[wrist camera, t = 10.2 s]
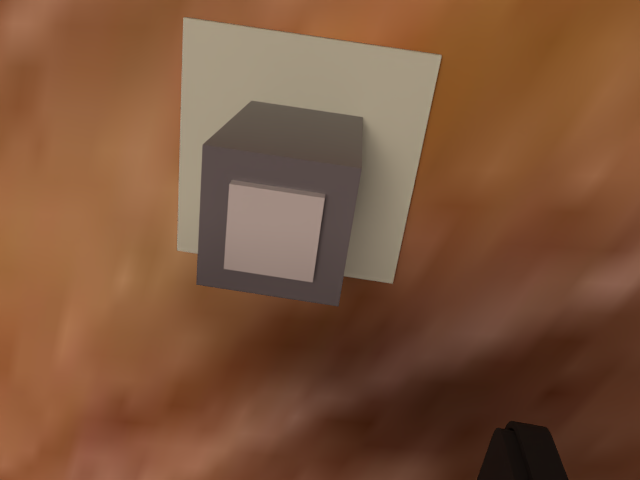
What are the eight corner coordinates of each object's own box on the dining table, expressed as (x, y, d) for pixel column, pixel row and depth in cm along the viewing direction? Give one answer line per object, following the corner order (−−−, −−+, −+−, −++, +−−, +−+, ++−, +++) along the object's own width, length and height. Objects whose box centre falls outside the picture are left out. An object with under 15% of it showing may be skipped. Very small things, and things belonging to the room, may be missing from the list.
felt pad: (440, 54, 23) (441, 55, 23) (392, 278, 28) (392, 283, 27) (186, 17, 24) (183, 17, 23) (180, 246, 28) (177, 250, 28)
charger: (362, 116, 24) (361, 172, 16) (346, 220, 26) (337, 312, 19) (251, 100, 24) (198, 147, 17) (243, 205, 26) (193, 290, 19)
